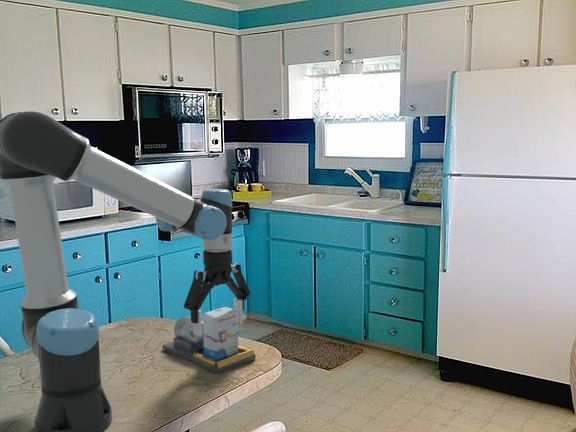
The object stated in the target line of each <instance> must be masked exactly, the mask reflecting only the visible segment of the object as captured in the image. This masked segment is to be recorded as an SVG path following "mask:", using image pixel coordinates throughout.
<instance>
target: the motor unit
mask: <svg viewBox="0 0 576 432" xmlns="http://www.w3.org/2000/svg"><path fill="white" fill-rule="evenodd" d="M173 328H174V330H173V334H174V336H175V337H173V341H171V342H167V343H164V344H162V351H164V352H166V353H169V354H171V355H173V356H175V357H178V358H180V359H183V360H184V361H186V362H188V363H191V364H192V365H195V366H198V367H200V368H202V369H205V370H207V371H208V372H211V373H214V374H215V375H219V374H221V373H224V372H226V371H230V370H232V369H235V368H237V366H238V367H240V366H243V365H245V364H247V362H248V363H250V362H249V361H251V362H253V361H255V360H254V359H256V356H257V355H256V354H255V349H254V348H251V349H250V348H247V347H244V346H241V345H240V344H238V352H236V353H234V354H231V355H229V356H227V357H224V358H222V359H219V360H217V361H216V360H213V359H211V358H208V357H206V356H204V336H203V320H202V336H198V335H195V334H193V323H192V322H191V316H190V315H184V316H181V317H180V318H179V319H177V321H176V323H175V325H174V327H173ZM252 360H253V361H252ZM242 364H243V365H242Z"/></svg>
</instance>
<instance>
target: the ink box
mask: <svg viewBox="0 0 576 432" xmlns="http://www.w3.org/2000/svg"><path fill="white" fill-rule="evenodd" d="M202 321H203V336H204V356H206V357H208V358H211V359H213V360H216V361H217V360H219V359H222V358H224V357H227V356H229V355H231V354H234V353H236V352H238V345H239V323H238V311H237V310H234V308H231V307H228V306H224V307H220V308H217V309H214V310H210V311H207V312H205V313H204V314H202Z"/></svg>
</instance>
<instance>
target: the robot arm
mask: <svg viewBox="0 0 576 432" xmlns="http://www.w3.org/2000/svg"><path fill="white" fill-rule="evenodd" d="M56 179H59V180H61V181H63V182H69V181H76V182H78V183H80V184H83V185H85V186H87V187H89V188H91V189H93V190H95V191H98V192H100V193H102V194H104V195H107V196H109V197H111V198H113V199H115V200H117V201H120V202H122V203H123V204H125V205H129V206H131V207H133V208H135V209H137V210H139V211H140V212H143V213H146V214H147V215H150V216H153V217H154V218H155V221H156V225H157V227H158V228H159V230H160V231H162V232H174V231H180V232H183V233H186V234H189V235H193V236H195V237H198V238H200V239H202V248H203V249H204V250H203V252H202V263H203V264H204V265H203V266H204V270H202V271H199V270H194V272H193V277H192V278H193V280H192V282H191V286H190V288H189V290H188V293H187V296H186V299H185V301H184V304H183V309H184V310H189V311H190V317H191V322H192V323H193V334H195V335H198V336H202V321H203V311H202V309H201V307H202V305H203V304H204V302H205V300H206V298H207V296H208V295H209V293H210V292H211V290H212V289H214V288H215V287H217V286H220V285H226V286H227V288H228V289H229V290H230V291H231V292H232V293H233V295H234V296H235V298H233V309H234V310H237V311H238V325H241V324H242V325H243V313H244V312H243V311H244V310H245V301H246V300H248V297H249V296H250V295H251V291H250V289H249V287H248V284H247V282H246V280H245V277H244V275H243V273H242V265H241V264H240V263H236V262H233V250H232V248H233V199H232V193H231V191H230V190H229V189H225V188H209V189H203V191H202V193H201V197H199V198H194V197H193V196H191V195H190V194H187V193H185V192H183V191H181V190H179V189H177V188H175V187H173V186H171V185H169V184H167V183H165V182H163V181H162V180H159V179H157V178H155V177H153V176H151V175H149V174H147V173H145V172H143V171H141V170H139V169H137V168H135V167H134V166H131V165H130V164H128V163H125V162H124V161H121V160H120V159H117V158H116V157H113V156H111V155H110V154H107V153H105V152H103V151H101V150H99V149H97V148H96V147H94V146H91V144H90V140H89V139H88V138H87V137H85V136H83V135H81V134H79V133H77V132H76V131H74V130H72V129H71V128H69V127H67V126H66V125H64V124H62V123H61V122H59V121H58V120H56V119H54V118H53V117H51V116H50V115H48V114H44V113H42V112H39V111H32V110H30V111H28V110H27V111H18V112H12V113H9V114H6V115H5V116H3V117H2V118H1V119H0V181H1V182H3V183H4V184H6V185H7V186H8V187H9V190H10V197H11V202H12V203H11V204H12V209H13V215H14V216H13V217H14V222H15V223H14V224H15V228H16V229H15V230H16V233H17V234H16V235H17V242H18V246H19V247H18V248H19V254H20V259H21V267H22V271H23V278H24V285H25V290H26V291H25V292H26V294H25V297H24V298H23V299H22V300H21V302H20V309H21V314H22V319H21V320H22V321H21V333H22V334H21V335H22V337H23V340H24V341H25V344H27V346H28V347H29V348H30V349H31V351H32V352H33V354H34V355H35V357H36V358H37V359H38V364H39V373H40V375H39V376H40V385H41V396H40V400H39V403H38V407H37V410H36V414H35V418H34V432H103V431H105V430H106V429H107V428H108V427H109V426H110V425H111V423H112V421H113V412H112V406H111V404H110V402H109V399H108V397H107V394H106V393H105V390H104V387H103V385H102V373H101V357H100V355H101V354H100V353H101V352H100V342H99V341H100V337H99V336H100V329H99V326H98V320H97V318H96V316H95V315H94V314H93V313H91V312H90V311H88V310H86V309H81V310H80V307H79V302H78V296H77V295H78V294H77V292H76V291H74V290H72V289H71V288H70V287H69V284H68V276H67V270H66V262H65V256H64V250H63V243H62V235H61V229H60V222H59V216H58V215H59V213H58V208H57V201H56V193H55V187H54V181H55V180H56ZM231 274H232V275H233V277H232V276H231ZM235 282H236V283H235Z"/></svg>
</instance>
